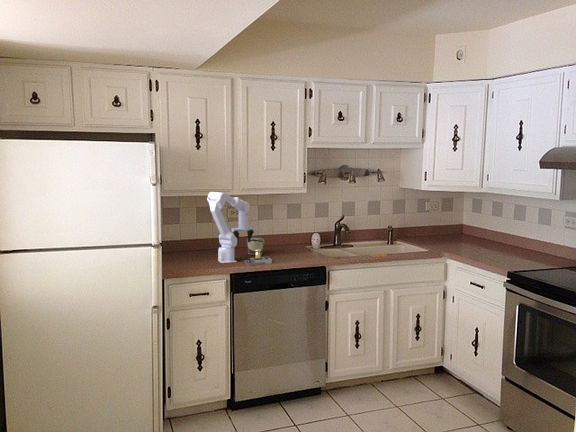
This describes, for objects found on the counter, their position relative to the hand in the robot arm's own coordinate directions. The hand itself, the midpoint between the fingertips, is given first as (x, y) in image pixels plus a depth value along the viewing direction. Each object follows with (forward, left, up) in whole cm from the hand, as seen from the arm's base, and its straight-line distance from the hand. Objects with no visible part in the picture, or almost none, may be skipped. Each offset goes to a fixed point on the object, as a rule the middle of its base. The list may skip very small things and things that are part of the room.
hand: (243, 242), depth 320 cm
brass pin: (+3, -18, -9) cm, 20 cm away
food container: (+12, +8, -10) cm, 17 cm away
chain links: (+3, -18, -9) cm, 20 cm away
